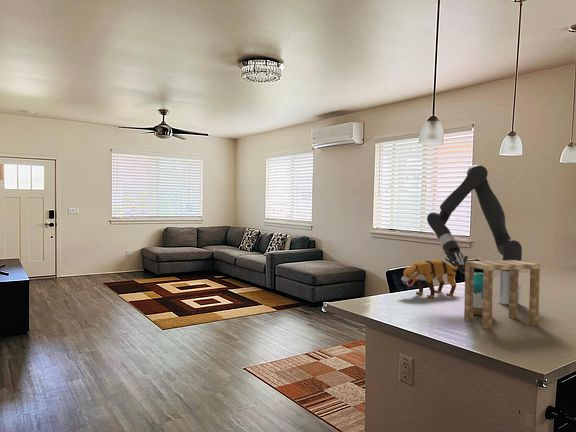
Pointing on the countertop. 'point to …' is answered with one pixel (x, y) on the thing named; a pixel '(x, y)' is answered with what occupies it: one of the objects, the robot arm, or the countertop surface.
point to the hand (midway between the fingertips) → (464, 272)
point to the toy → (430, 275)
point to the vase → (478, 294)
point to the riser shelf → (513, 289)
